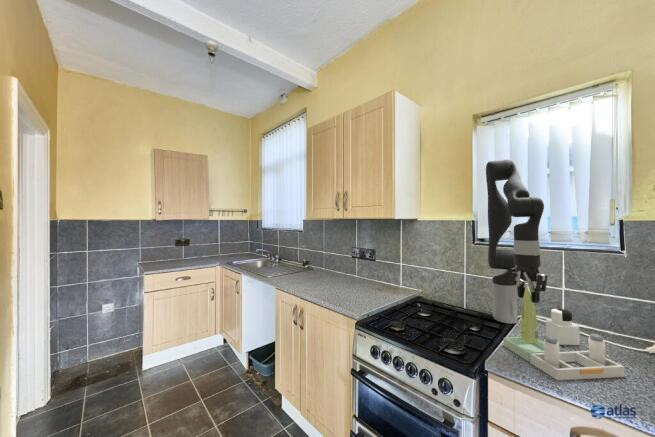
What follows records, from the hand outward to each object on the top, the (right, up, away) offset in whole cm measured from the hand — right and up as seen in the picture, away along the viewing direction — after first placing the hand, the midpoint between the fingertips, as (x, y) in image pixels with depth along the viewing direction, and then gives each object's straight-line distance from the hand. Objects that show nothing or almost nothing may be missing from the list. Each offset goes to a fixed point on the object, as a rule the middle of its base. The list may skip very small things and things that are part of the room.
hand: (528, 299), depth 92 cm
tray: (0, -19, 0) cm, 19 cm away
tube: (0, -15, 0) cm, 15 cm away
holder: (+6, -18, -11) cm, 22 cm away
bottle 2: (+13, -18, -11) cm, 25 cm away
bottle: (-2, -19, -12) cm, 22 cm away
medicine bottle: (+19, -19, +7) cm, 28 cm away
